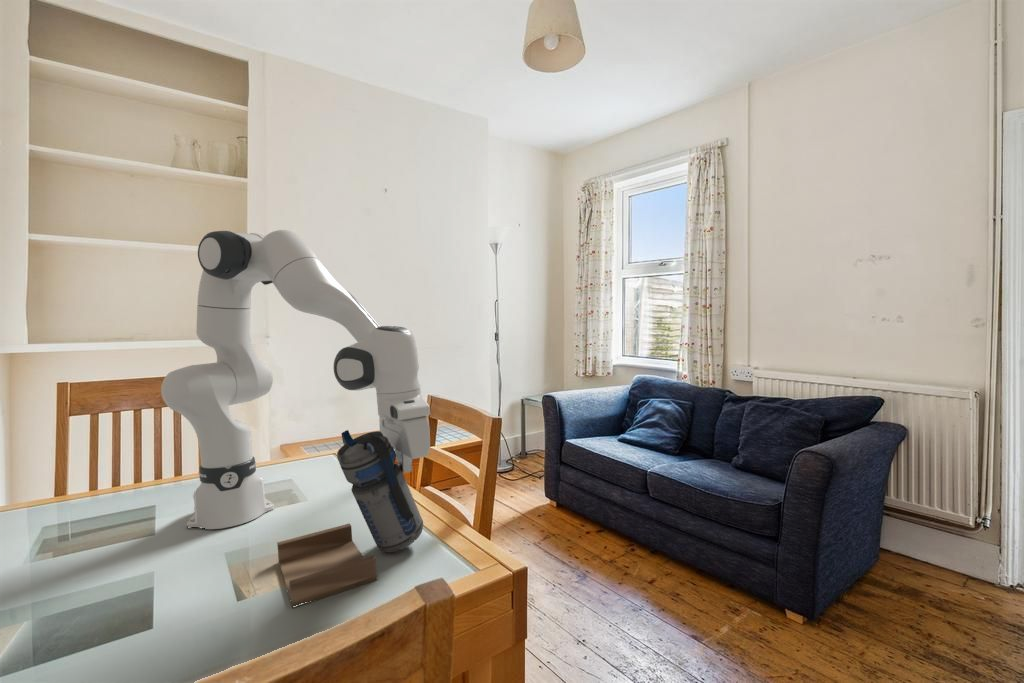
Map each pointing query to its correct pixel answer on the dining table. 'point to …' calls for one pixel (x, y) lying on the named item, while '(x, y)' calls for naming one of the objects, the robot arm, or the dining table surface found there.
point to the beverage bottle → (380, 490)
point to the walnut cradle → (323, 564)
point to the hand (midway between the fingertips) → (405, 471)
